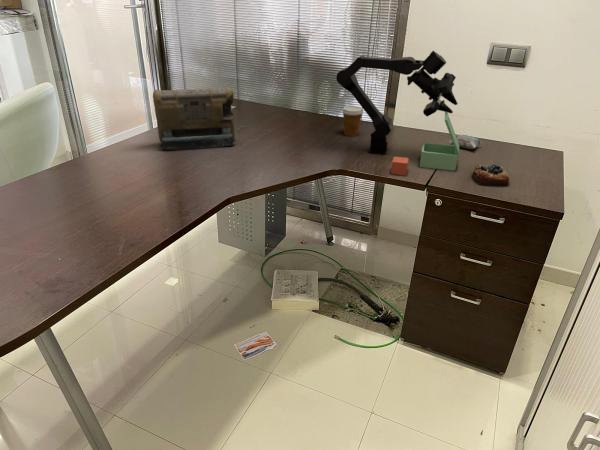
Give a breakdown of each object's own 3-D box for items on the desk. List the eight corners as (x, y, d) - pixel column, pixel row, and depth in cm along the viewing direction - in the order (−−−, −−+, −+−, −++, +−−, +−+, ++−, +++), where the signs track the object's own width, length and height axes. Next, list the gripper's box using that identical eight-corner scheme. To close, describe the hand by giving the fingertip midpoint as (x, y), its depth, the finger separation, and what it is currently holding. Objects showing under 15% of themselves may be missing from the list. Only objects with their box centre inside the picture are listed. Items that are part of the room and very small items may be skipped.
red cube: (390, 173, 172) (392, 161, 169) (392, 168, 177) (393, 156, 174) (405, 175, 171) (407, 163, 168) (407, 170, 175) (408, 158, 173)
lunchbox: (419, 166, 178) (421, 151, 175) (420, 156, 188) (423, 142, 185) (455, 170, 175) (458, 155, 172) (455, 160, 185) (457, 145, 182)
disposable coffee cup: (364, 133, 214) (366, 107, 208) (355, 138, 207) (357, 112, 201) (346, 129, 219) (348, 104, 213) (337, 134, 211) (338, 109, 206)
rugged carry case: (232, 136, 208) (229, 80, 196) (238, 146, 197) (235, 87, 184) (159, 143, 199) (150, 85, 187) (161, 154, 188) (152, 92, 175)
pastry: (469, 173, 173) (472, 159, 170) (500, 174, 173) (504, 159, 170) (477, 185, 163) (481, 170, 160) (511, 186, 163) (515, 171, 160)
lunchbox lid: (444, 120, 167) (446, 119, 167) (444, 112, 177) (446, 111, 177) (457, 154, 172) (459, 154, 172) (457, 144, 182) (459, 144, 181)
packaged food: (473, 153, 192) (476, 141, 190) (447, 146, 199) (449, 135, 196) (481, 148, 198) (484, 137, 196) (455, 142, 205) (458, 131, 202)
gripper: (428, 93, 164) (458, 120, 168) (450, 56, 170) (478, 83, 173) (410, 103, 175) (439, 128, 179) (431, 68, 180) (459, 94, 184)
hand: (454, 108), depth 178 cm, fingers open, 4 cm apart
